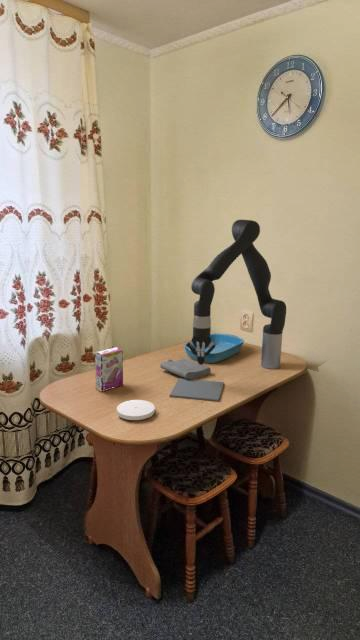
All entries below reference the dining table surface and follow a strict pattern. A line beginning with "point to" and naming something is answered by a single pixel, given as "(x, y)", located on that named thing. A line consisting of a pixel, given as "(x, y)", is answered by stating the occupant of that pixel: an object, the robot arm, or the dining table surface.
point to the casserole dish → (219, 348)
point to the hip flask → (185, 368)
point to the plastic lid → (135, 409)
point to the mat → (197, 389)
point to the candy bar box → (109, 368)
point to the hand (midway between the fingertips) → (200, 364)
